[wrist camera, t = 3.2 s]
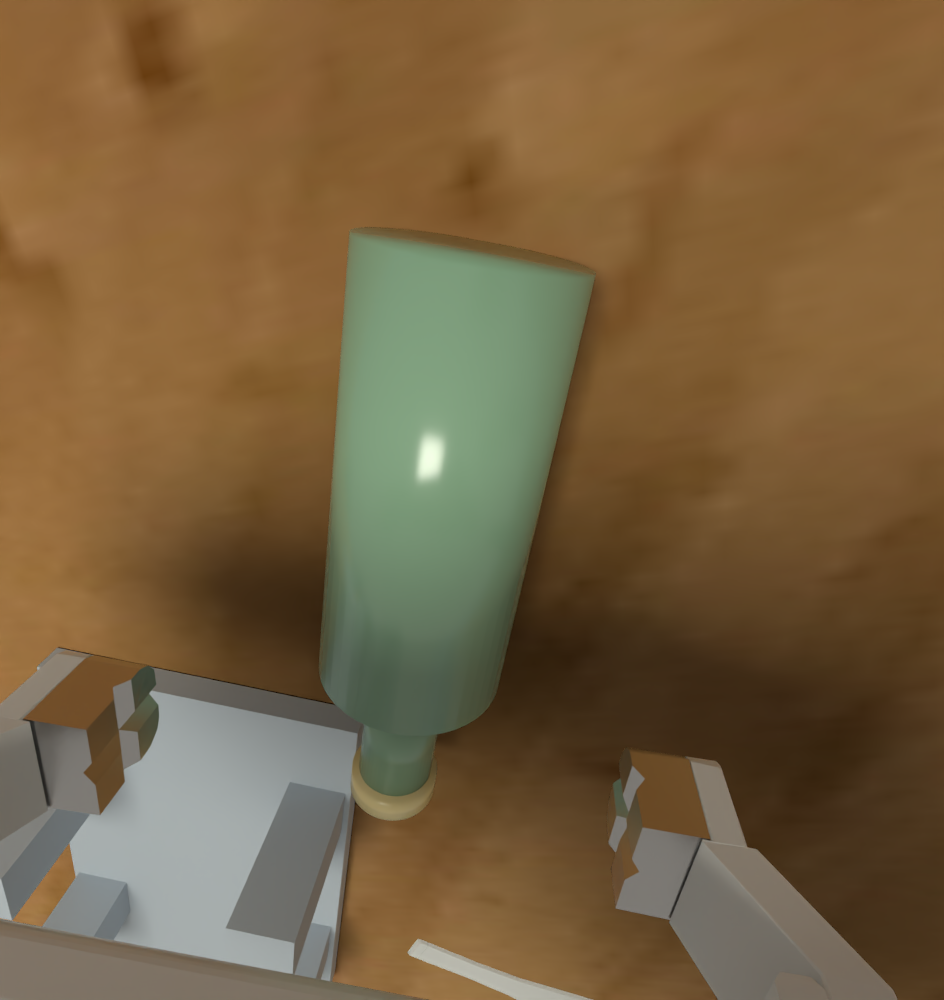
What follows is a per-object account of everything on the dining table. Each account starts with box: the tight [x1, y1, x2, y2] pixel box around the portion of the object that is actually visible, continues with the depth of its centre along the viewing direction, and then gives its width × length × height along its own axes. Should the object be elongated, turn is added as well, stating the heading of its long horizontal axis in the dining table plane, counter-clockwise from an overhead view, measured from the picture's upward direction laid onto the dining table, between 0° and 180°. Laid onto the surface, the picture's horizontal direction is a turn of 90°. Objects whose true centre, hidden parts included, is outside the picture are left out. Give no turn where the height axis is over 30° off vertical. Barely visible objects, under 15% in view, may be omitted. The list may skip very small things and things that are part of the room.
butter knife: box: [407, 939, 592, 1000], centre depth 28 cm, size 1×24×3 cm
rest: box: [0, 648, 364, 982], centre depth 23 cm, size 16×11×6 cm
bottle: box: [319, 227, 596, 821], centre depth 17 cm, size 16×5×5 cm, turn 171°
